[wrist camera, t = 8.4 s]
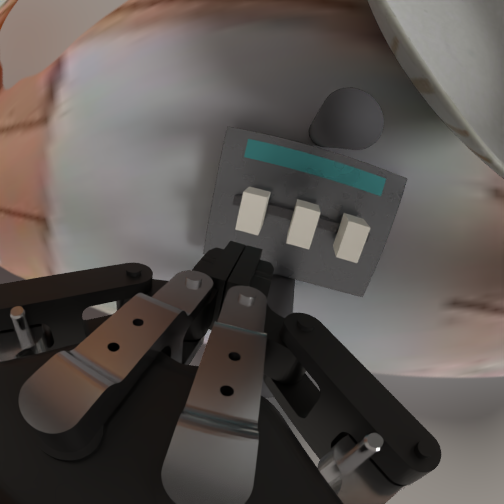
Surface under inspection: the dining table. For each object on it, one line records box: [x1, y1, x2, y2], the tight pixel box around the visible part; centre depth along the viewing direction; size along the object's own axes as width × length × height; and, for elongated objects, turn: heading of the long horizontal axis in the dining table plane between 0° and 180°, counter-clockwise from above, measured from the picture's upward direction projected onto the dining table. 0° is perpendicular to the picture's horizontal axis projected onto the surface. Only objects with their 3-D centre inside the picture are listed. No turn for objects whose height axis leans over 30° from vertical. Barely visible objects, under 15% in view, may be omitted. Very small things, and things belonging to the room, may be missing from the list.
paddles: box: [235, 187, 370, 263], centre depth 21 cm, size 10×3×2 cm, turn 77°
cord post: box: [261, 273, 295, 398], centre depth 22 cm, size 3×3×14 cm
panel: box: [203, 126, 407, 297], centre depth 24 cm, size 16×12×3 cm
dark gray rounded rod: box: [309, 88, 384, 150], centre depth 16 cm, size 3×3×14 cm
